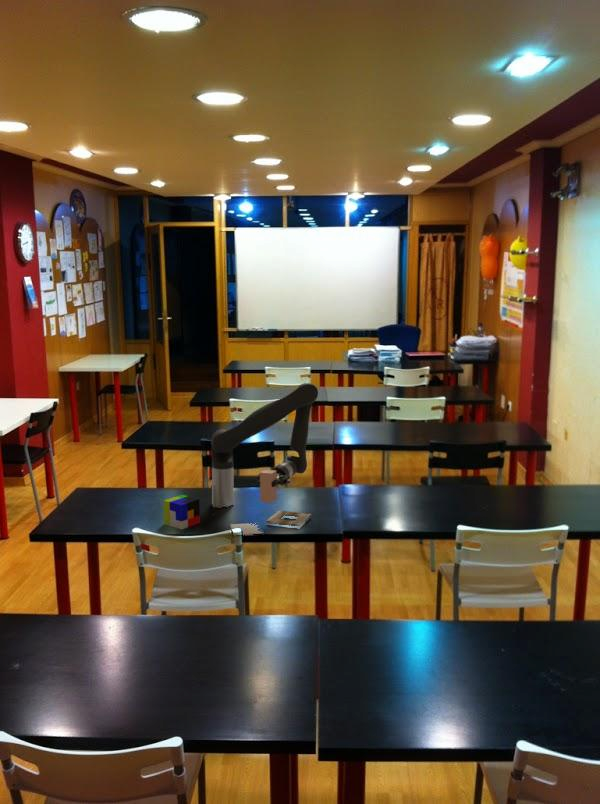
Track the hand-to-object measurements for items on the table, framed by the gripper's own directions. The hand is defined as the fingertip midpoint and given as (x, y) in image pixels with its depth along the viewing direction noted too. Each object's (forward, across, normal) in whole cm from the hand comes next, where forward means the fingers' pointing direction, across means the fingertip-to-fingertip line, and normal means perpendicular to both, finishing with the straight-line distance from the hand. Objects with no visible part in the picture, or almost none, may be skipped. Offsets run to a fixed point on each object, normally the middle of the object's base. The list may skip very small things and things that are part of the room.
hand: (265, 484), depth 279 cm
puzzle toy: (+7, -34, +18) cm, 39 cm away
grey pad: (+5, -6, +18) cm, 20 cm away
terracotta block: (-3, 0, +8) cm, 8 cm away
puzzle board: (-10, +6, +18) cm, 21 cm away
